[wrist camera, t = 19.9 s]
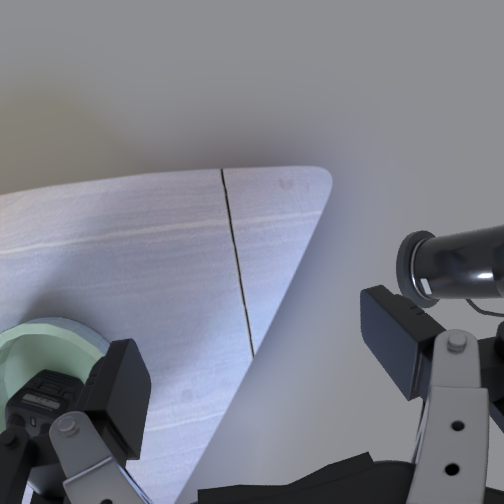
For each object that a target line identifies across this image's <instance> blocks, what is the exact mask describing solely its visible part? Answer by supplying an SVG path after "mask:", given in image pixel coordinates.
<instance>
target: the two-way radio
mask: <svg viewBox="0 0 504 504" xmlns="http://www.w3.org/2000/svg"><path fill="white" fill-rule="evenodd" d="M84 386H85V385H84V383H83V382H82V381H81V380H80V379H79V378H76V377H73V376H70V375H67V374H63V373H60V372H56V371H52V370H47V369H43V370H42V371H40V372H38V373H37V374H36V375H35V376H34V377H32V378H31V379H30V380H29V381H28V382H27V383H26V384H25V385H24V386H23V387H21V388H20V389H19V390H18V391H17V392H16V393H15V394H14V395H13V396H12V397H11V398H10V399H9V400H8V402H7V404H6V407H5V424H6V429H7V428H9V427H12V426H22V427H24V428H25V429H26V430H27V431H28V433H29V434H30V435H31V436H32V437H34V436H38V435H42V434H46V433H49V431H50V428H51V426H52V424H53V423H54V421H55V420H56V419H57V418H59V417H60V416H62V415H63V414H66V413H68V412H73V411H74V408H75V406H76V403H77V401H78V398H79V396H80V394H81V391H82V389H83V387H84Z"/></svg>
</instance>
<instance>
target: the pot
mask: <svg viewBox="0 0 504 504" xmlns="http://www.w3.org/2000/svg"><path fill="white" fill-rule="evenodd" d="M109 346H110V344H109V343H108V342H107V340H105V339H104V338H103V337H102V336H101V335H100V334H98V333H97V332H96V331H94V330H93V329H91V328H89V327H88V326H86V325H84V324H82V323H79V322H77V321H74V320H71V319H66V318H60V317H45V318H37V319H34V320H31V321H28V322H25V323H22V324H20V325H17V326H15V327H12V328H10V329H8V330H5V331H3V332H1V333H0V434H1V433H2V432H3V431H4V430H6V424H5V407H6V404H7V402H8V400H9V399H10V398H11V397H12V396H13V395H14V394H15V393H16V392H17V391H18V390H19V389H20V388H21V387H23V386H24V385H25V384H26V383H27V382H28V381H29V380H30V379H31V378H32V377H34V376H35V375H36V374H37V373H38V372H40V371H42V370H43V369H47V370H52V371H56V372H60V373H63V374H67V375H70V376H73V377H76V378H79V379H80V380H81V381H82V382H83V383H84V385H85V382H86V380H87V378H89V376H88V375H89V373H90V371H91V369H92V366H93V365H94V364H95V363H96V362H97V361H98V360H99V359H100V358H101V357H102V356H105V355H106V353H107V351H108V348H109Z"/></svg>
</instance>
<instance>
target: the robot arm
mask: <svg viewBox="0 0 504 504" xmlns="http://www.w3.org/2000/svg"><path fill="white" fill-rule="evenodd" d="M409 276H410V281H411V284H412V287H413V289H414V291H415V292H416V294H417V295H418V296H419V297H420V298H422V299H425V300H433V299H466V301H467V302H468V303H469V304H470V305H471V306H472V307H473V308H474V309H475V310H476V311H477V312H479V313H481V314H484V315H491V316H497V317H504V314H499V313H494V312H489V311H484V310H481V309H479V308H478V307H477V306H476V305H475V304H474V303H473V302H472V301H471V300H470V299H483V298H484V299H485V298H504V225H500V226H494V227H489V228H484V229H478V230H473V231H468V232H463V233H457V234H452V235H446V236H440V237H435V238H425V239H421V240H419V241H418V242H417V243H416V244H415V245H414V247H413V249H412V251H411V254H410V259H409ZM360 307H361V308H360V310H361V332H362V337H363V340H364V341H365V343H366V345H367V346H368V347H369V349H370V350H371V351H372V353H373V354H374V355H375V357H376V358H377V359H378V361H379V362H380V363H381V365H382V366H383V368H384V369H385V370H386V372H387V373H388V374H389V376H390V377H391V378H392V380H393V381H394V382H395V384H396V385H397V386H398V388H399V389H400V391H401V392H402V393H403V395H404V396H405V398H406V399H407V400H408V401H410V400H412V399H415V398H417V397H419V396H420V397H421V398H422V399H423V403H422V407H421V412H420V418H419V422H418V427H417V432H416V437H415V441H414V445H413V449H412V453H411V456H410V460H409V462H404V461H392V460H386V461H375V462H373V460H372V458H371V456H370V454H369V452H366V453H363V454H360V455H357V456H355V457H351V458H348V459H345V460H342V461H340V462H336V463H333V464H329V465H327V466H325V467H323V468H321V469H319V470H317V471H315V472H313V473H311V474H310V475H307V476H306V477H303V478H301V479H300V480H297V481H295V482H293V483H290V484H288V485H281V486H280V485H279V486H278V485H276V486H275V485H272V486H271V485H269V486H268V485H265V486H264V485H234V486H227V487H219V488H211V489H200V490H198V501H196V502H193V503H191V504H504V491H501V490H497V489H493V488H489V487H486V486H485V485H486V476H487V465H488V448H489V415H490V416H491V417H492V419H493V420H494V421H495V423H496V424H497V425H498V426H499V428H500V429H501V430H502V432H503V433H504V321H503V322H501V323H500V325H499V326H498V329H497V333H496V337H491V338H486V339H481V340H477V339H476V338H475V337H474V336H473V335H472V334H471V333H469V332H466V331H463V330H446V329H445V328H443V327H442V326H441V325H440V324H439V323H438V322H437V321H435V320H434V319H433V318H432V317H431V316H430V315H428V314H427V313H425V312H424V310H422V309H421V308H420V307H418V305H417V304H415V303H414V302H413V301H412V300H411V299H409V298H407V297H404V296H401V295H399V294H396V295H394V294H392V293H391V292H390V291H389V290H388V289H386V287H384V286H383V285H378V286H374V287H371V288H367V289H363V290H362V291H361V294H360ZM88 376H89V378H87V380H86V382H85V386H84V387H83V389H82V391H81V394H80V396H79V398H78V401H77V403H76V406H75V408H74V411H73V412H68V413H66V414H63V415H62V416H60V417H59V418H57V419H56V420H55V421H54V423H53V424H52V426H51V428H50V431H49V433H46V434H42V435H38V436H34V437H32V436H31V435H30V434H29V433H28V431H27V430H26V429H25V428H24V427H22V426H12V427H9V428H7V429H6V430H4V431H3V432H2V433H1V434H0V504H22V499H23V495H24V491H25V488H26V485H27V484H28V485H29V486H30V487H31V488H32V489H33V490H34V491H33V495H32V498H31V502H30V504H154V503H153V502H152V501H151V500H150V498H149V497H148V496H147V495H146V493H145V492H144V491H143V490H142V488H141V487H140V486H139V485H138V483H137V482H136V481H135V479H134V478H133V477H132V476H131V474H130V473H129V471H128V470H127V469H126V468H125V466H126V461H127V460H139V459H140V452H141V446H142V439H143V433H144V427H145V421H146V415H147V409H148V404H149V398H150V393H151V379H150V375H149V373H148V370H147V368H146V366H145V363H144V361H143V359H142V357H141V354H140V352H139V349H138V347H137V345H136V343H135V341H134V340H133V339H124V340H118V341H112V342H111V344H110V346H109V348H108V351H107V353H106V355H105V356H102V357H101V358H100V359H99V360H98V361H97V362H96V363H95V364H94V365H93V366H92V369H91V371H90V373H89V375H88Z"/></svg>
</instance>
